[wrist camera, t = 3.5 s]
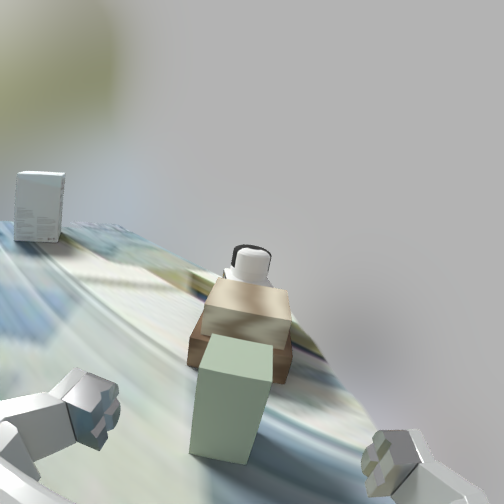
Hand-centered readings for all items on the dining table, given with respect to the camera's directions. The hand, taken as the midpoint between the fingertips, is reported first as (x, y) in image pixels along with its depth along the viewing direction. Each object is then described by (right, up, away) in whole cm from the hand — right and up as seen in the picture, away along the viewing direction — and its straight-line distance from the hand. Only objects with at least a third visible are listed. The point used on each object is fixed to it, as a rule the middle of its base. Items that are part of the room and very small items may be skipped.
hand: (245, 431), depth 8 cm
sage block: (-3, -12, +16) cm, 20 cm away
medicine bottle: (-2, -6, +43) cm, 44 cm away
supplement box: (-59, +10, +61) cm, 85 cm away
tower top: (-1, -4, +32) cm, 32 cm away
